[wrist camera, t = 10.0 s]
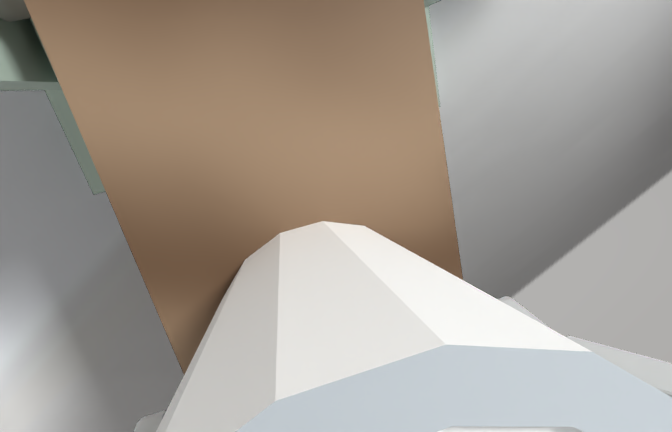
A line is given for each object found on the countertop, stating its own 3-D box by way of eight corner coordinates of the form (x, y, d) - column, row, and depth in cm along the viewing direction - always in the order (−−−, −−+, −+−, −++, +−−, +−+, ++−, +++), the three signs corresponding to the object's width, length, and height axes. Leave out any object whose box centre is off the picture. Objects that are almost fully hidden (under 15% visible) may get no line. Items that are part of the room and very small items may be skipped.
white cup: (395, 451, 12) (573, 892, 5) (160, 409, 10) (-57, 983, 3) (484, 241, 11) (863, 432, 4) (240, 158, 9) (165, 237, 2)
